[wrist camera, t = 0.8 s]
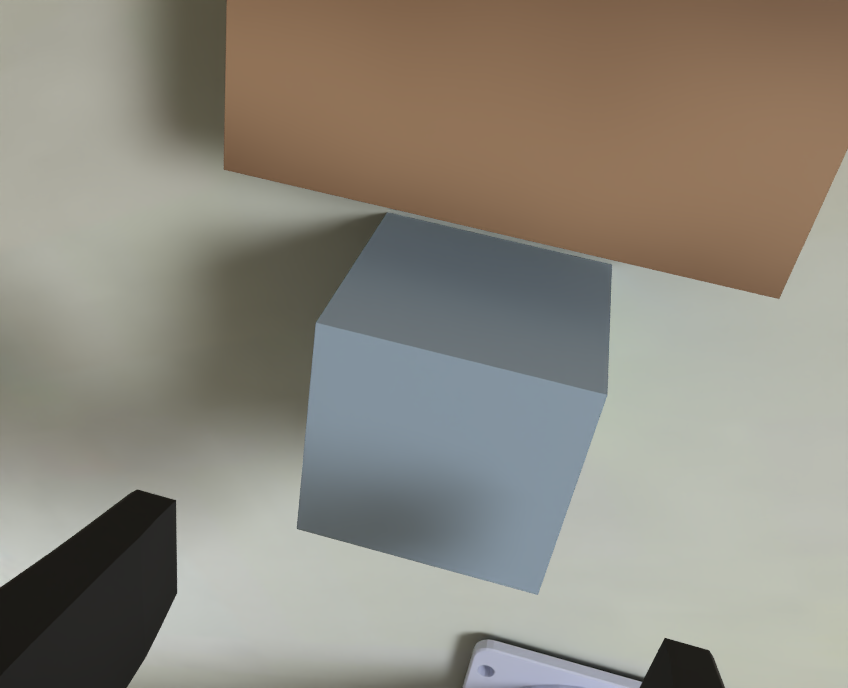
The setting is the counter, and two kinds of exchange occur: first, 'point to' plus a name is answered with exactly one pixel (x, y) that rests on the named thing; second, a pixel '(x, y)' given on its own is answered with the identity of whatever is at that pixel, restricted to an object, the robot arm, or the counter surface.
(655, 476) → the counter surface
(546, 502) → the slate-blue cube
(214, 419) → the counter surface
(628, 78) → the walnut base
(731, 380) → the counter surface
